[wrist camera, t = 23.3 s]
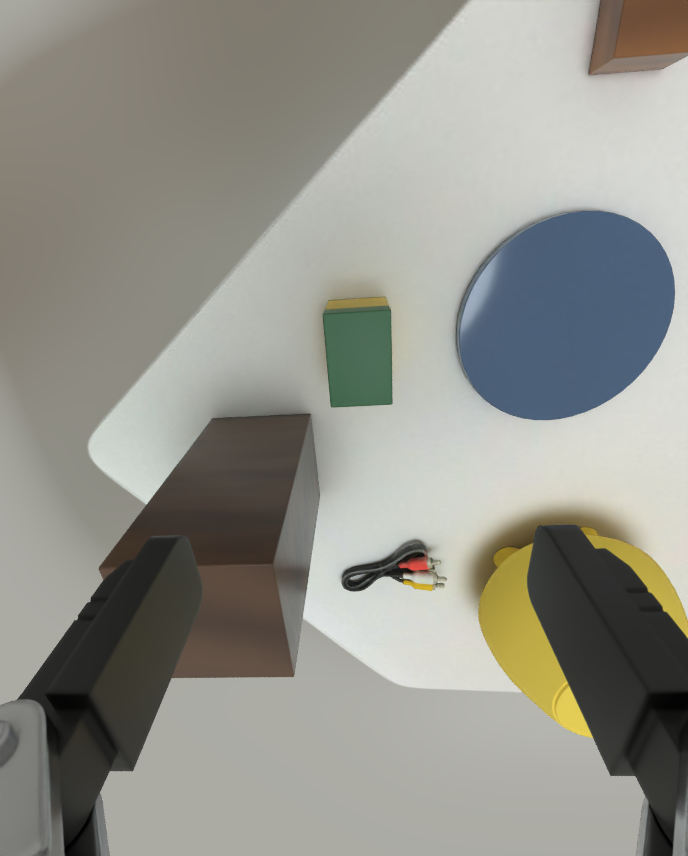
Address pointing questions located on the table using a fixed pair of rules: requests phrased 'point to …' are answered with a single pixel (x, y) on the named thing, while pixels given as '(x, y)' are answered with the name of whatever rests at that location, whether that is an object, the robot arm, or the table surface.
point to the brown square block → (639, 35)
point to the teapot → (525, 638)
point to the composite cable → (399, 571)
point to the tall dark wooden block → (240, 541)
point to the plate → (565, 314)
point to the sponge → (358, 351)
